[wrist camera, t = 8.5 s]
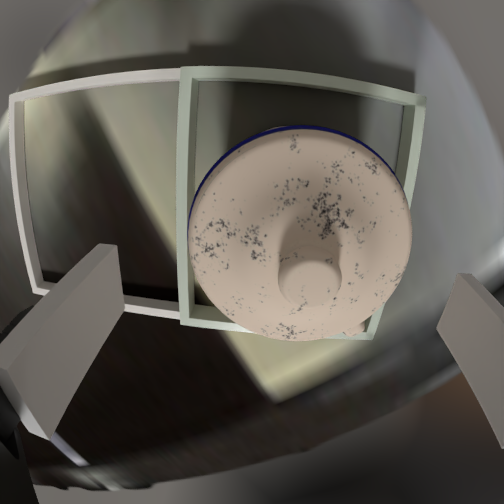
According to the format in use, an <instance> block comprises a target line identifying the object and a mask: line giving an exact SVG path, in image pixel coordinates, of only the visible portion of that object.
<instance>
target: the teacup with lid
mask: <svg viewBox="0 0 504 504" xmlns="http://www.w3.org/2000/svg"><path fill="white" fill-rule="evenodd" d="M187 241H188V250H189V255H190V259H191V263H192V267H193V270H194V273H195V275H196V277H197V280H198V282H199V284H200V285H201V287H202V289H203V291H204V292H205V293H206V295H207V296H208V298H209V299H210V300H211V301H212V303H213V304H214V305H215V306H216V307H217V308H218V309H219V310H220V311H221V312H222V313H223V314H224V315H226V316H227V317H228V318H229V319H231V320H232V321H234V322H235V323H237V324H238V325H240V326H242V327H243V328H245V329H247V330H250V331H252V332H254V333H257V334H259V335H262V336H266V337H269V338H273V339H279V340H287V341H308V340H316V339H322V338H326V337H330V336H333V335H336V334H339V333H342V332H343V333H344V334H345V335H346V336H348V337H353V336H356V335H358V334H360V333H362V332H363V331H364V329H365V322H364V321H365V320H366V319H367V318H369V317H370V316H371V315H372V314H374V313H375V312H376V311H377V310H378V309H379V308H380V307H381V306H382V305H383V304H384V303H385V302H386V301H387V299H388V298H389V297H390V296H391V294H392V293H393V291H394V290H395V288H396V287H397V285H398V283H399V281H400V280H401V278H402V276H403V273H404V271H405V268H406V265H407V262H408V259H409V255H410V250H411V243H412V222H411V215H410V210H409V205H408V201H407V198H406V195H405V192H404V190H403V188H402V186H401V184H400V182H399V180H398V178H397V177H396V175H395V173H394V172H393V171H392V169H391V168H390V167H389V165H388V164H387V163H386V162H385V161H384V160H383V159H382V158H381V157H380V156H379V155H378V154H377V153H376V152H375V151H374V150H372V149H371V148H370V147H369V146H367V145H366V144H364V143H363V142H361V141H359V140H358V139H356V138H354V137H352V136H350V135H347V134H345V133H342V132H340V131H336V130H333V129H329V128H325V127H318V126H308V125H296V126H281V127H276V128H272V129H269V130H266V131H263V132H261V133H259V134H256V135H254V136H252V137H250V138H248V139H246V140H244V141H242V142H240V143H239V144H237V145H236V146H234V147H233V148H231V149H230V150H229V151H228V152H227V153H225V154H224V155H223V156H222V157H221V158H220V159H219V160H218V161H217V162H216V163H215V164H214V165H213V166H212V168H211V169H210V170H209V171H208V173H207V174H206V175H205V177H204V179H203V180H202V182H201V184H200V185H199V187H198V190H197V192H196V194H195V196H194V199H193V202H192V205H191V209H190V213H189V218H188V226H187Z"/></svg>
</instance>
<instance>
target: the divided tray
mask: <svg viewBox="0 0 504 504" xmlns="http://www.w3.org/2000/svg"><path fill="white" fill-rule="evenodd" d="M166 81H180V86H179V103H178V124H177V154H176V240H177V271H178V293H179V302H171V301H164V300H156V299H149V298H142V297H135V296H128V295H123V297H124V303H125V310H124V311H128V312H134V313H140V314H146V315H153V316H160V317H166V318H174V319H180V324H181V325H188V326H196V327H204V328H212V329H221V330H230V331H240V332H250V333H254V332H252V331H250V330H247V329H245V328H243V327H242V326H240V325H238V324H237V323H235V322H234V321H232V320H231V319H229V318H228V317H227V316H226V315H224V314H223V313H222V312H221V311H220V310H219V309H218V308H217V307H213V306H204V305H195V302H194V270H193V267H192V263H191V259H190V255H189V250H188V241H187V226H188V218H189V213H190V209H191V205H192V202H193V199H194V174H195V144H196V122H197V104H198V88H199V81H238V82H257V83H271V84H282V85H292V86H301V87H309V88H317V89H324V90H330V91H337V92H343V93H349V94H354V95H360V96H365V97H370V98H375V99H379V100H384V101H388V102H393V103H397V104H401V105H404V113H403V122H402V131H401V139H400V146H399V153H398V160H397V166H396V173H395V175H396V177H397V178H398V180H399V182H400V184H401V186H402V188H403V190H404V192H405V195H406V198H407V201H408V205H409V210H410V206H411V201H412V196H413V191H414V185H415V180H416V174H417V168H418V162H419V156H420V149H421V142H422V135H423V126H424V118H425V108H426V97H425V96H421V95H418V94H414V93H411V92H407V91H403V90H399V89H395V88H391V87H387V86H383V85H378V84H373V83H369V82H364V81H359V80H354V79H348V78H343V77H337V76H330V75H324V74H317V73H309V72H301V71H292V70H282V69H271V68H256V67H235V66H183V67H181V68H170V69H153V70H141V71H130V72H121V73H113V74H105V75H98V76H91V77H85V78H79V79H74V80H69V81H63V82H59V83H54V84H49V85H45V86H40V87H36V88H32V89H28V90H25V91H21V92H17V93H14V94H10V95H9V147H10V164H11V176H12V186H13V194H14V202H15V209H16V216H17V222H18V228H19V233H20V239H21V244H22V249H23V253H24V258H25V262H26V266H27V271H28V275H29V279H30V282H31V286H32V290H33V293H36V294H40V295H44V296H45V295H46V294H47V293H48V292H49V291H50V290H51V289H52V288H53V287H54V286H55V285H56V284H57V283H51V282H46V281H44V280H43V276H42V271H41V267H40V262H39V258H38V253H37V248H36V243H35V237H34V231H33V225H32V219H31V212H30V205H29V197H28V188H27V178H26V165H25V148H24V101H26V100H30V99H35V98H39V97H44V96H49V95H54V94H59V93H65V92H70V91H77V90H83V89H90V88H97V87H105V86H114V85H123V84H134V83H148V82H166ZM384 305H385V303H384V304H383V305H382V306H381V307H380V308H379V309H378V310H377V311H376V312H375V313H374V314H372V315H371V316H370V317H369V318H367V319H366V320H365V321H364V322H365V329H364V331H363V332H362V333H360V334H358V335H356V336H353V337H348V336H346V335H345V334H344V333H343V332H342V333H339V334H336V335H333V336H330V337H326V338H334V339H359V340H373V337H374V334H375V332H376V329H377V326H378V323H379V320H380V317H381V314H382V311H383V308H384Z"/></svg>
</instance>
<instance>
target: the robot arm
mask: <svg viewBox="0 0 504 504" xmlns="http://www.w3.org/2000/svg"><path fill="white" fill-rule="evenodd" d="M124 310H125V303H124V297H123V290H122V283H121V276H120V268H119V260H118V251H117V245H108V244H98V245H97V246H96V247H95V248H94V249H93V250H92V251H91V252H89V253H88V254H87V255H86V256H85V257H84V258H83V259H82V260H81V261H80V262H79V263H78V264H77V265H75V266H74V267H73V268H72V269H71V270H70V271H69V272H68V273H67V274H66V275H65V276H64V277H63V278H62V279H61V280H60V281H59V282H58V283H57V284H56V285H55V286H54V287H53V288H52V289H51V290H50V291H49V292H48V293H47V294H46V295H45V296H44V297H43V298H42V299H41V300H40V301H39V302H38V303H37V304H36V305H35V306H30V307H28V308H27V309H25V310H23V311H22V312H20V313H19V314H18V315H17V316H16V317H15V318H14V319H13V320H12V321H11V322H10V325H7V327H6V328H5V329H4V330H3V331H2V334H1V333H0V504H39V502H38V499H37V496H36V493H35V490H34V487H33V484H32V480H31V477H30V473H29V470H28V466H27V462H26V458H25V454H24V450H23V446H22V441H21V436H20V433H19V431H18V429H17V427H16V426H17V424H18V422H19V421H20V419H21V421H22V422H23V424H24V425H25V427H26V428H27V429H28V431H29V432H31V433H33V434H36V435H38V436H40V437H43V438H45V439H47V440H50V439H51V437H52V435H53V433H54V431H55V429H56V427H57V425H58V423H59V421H60V419H61V417H62V415H63V414H64V412H65V410H66V408H67V406H68V404H69V402H70V401H71V399H72V397H73V395H74V393H75V392H76V390H77V388H78V386H79V384H80V383H81V381H82V379H83V377H84V376H85V374H86V372H87V370H88V369H89V367H90V365H91V364H92V362H93V360H94V358H95V357H96V355H97V353H98V352H99V350H100V348H101V347H102V345H103V343H104V342H105V340H106V338H107V337H108V335H109V334H110V332H111V330H112V329H113V327H114V325H115V324H116V322H117V321H118V319H119V317H120V316H121V314H122V313H123V311H124ZM436 329H437V331H438V333H439V334H440V336H441V337H442V339H443V340H444V342H445V344H446V345H447V347H448V349H449V350H450V352H451V354H452V355H453V357H454V359H455V360H456V362H457V364H458V365H459V367H460V369H461V371H462V372H463V374H464V376H465V378H466V379H467V381H468V383H469V385H470V386H471V388H472V390H473V392H474V394H475V396H476V397H477V399H478V401H479V403H480V405H481V407H482V409H483V411H484V413H485V415H486V417H487V419H488V420H489V423H490V425H491V427H492V429H493V431H494V433H495V435H496V437H497V439H498V441H499V444H500V446H501V448H502V449H503V448H504V308H503V306H502V305H501V304H500V303H499V302H498V301H497V300H496V299H495V298H494V297H493V296H492V295H491V294H490V293H489V292H488V291H487V289H486V288H485V287H484V286H483V285H482V284H481V283H480V282H479V281H478V280H477V279H476V278H475V277H474V276H473V275H472V274H465V273H458V274H457V277H456V280H455V282H454V285H453V288H452V291H451V293H450V296H449V299H448V301H447V304H446V306H445V309H444V311H443V314H442V316H441V319H440V321H439V323H438V326H437V328H436Z"/></svg>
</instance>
